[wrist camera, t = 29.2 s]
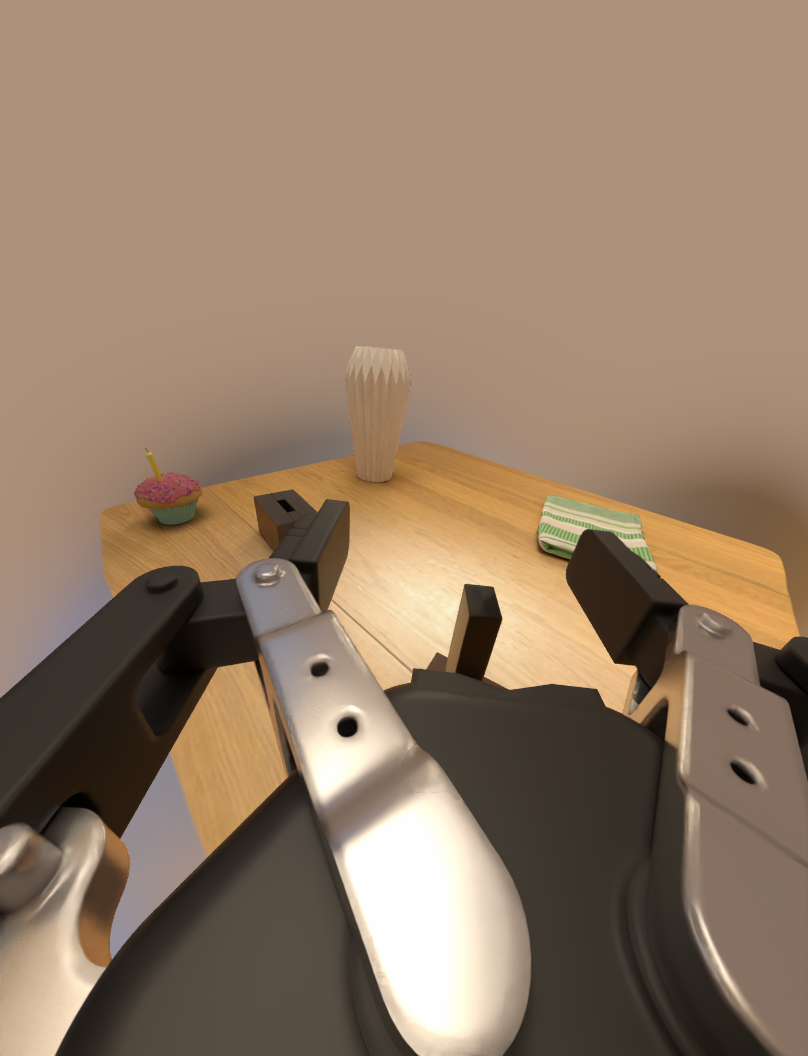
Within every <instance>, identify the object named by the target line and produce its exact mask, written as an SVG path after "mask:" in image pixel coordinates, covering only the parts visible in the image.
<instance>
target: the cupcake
mask: <svg viewBox="0 0 808 1056" xmlns="http://www.w3.org/2000/svg"><path fill="white" fill-rule="evenodd" d="M145 449H146V451H147V453H146V455H147V458H148V460H149V462H150V464H151V466H152V469H153V471H154V473H155V476H154V477H151V478H147V480H145V481H143V482H142V483H141V484H140V485H138V486H137V488H136V490H135V493H134V494H135V497H136V500H137V502H138V504H139V505H140V506H142V507H145V508H148V509H150V511H151V512H152V513H153V514H154V515H155V516H156V517H157V519H158V520H159V521H160V522H161V523H163V524H167V525H175V524H181V523H185V522H187V521H189V520H191V519H192V518H193V517H194V516H195V507H196V503H197V501H198V498H199V497H200V496H201V495H202V490H201V487H200V485H199V483H198V481H196V480H194V479H192V478H190V477H187V476H184V475H180V474H174V473H168V474H160V472H159V470H158V467H157V465H156V463H155V460H154V458H153V455H152V453H149V452H148V450H147V448H145Z"/></svg>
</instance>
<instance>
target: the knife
mask: <svg viewBox="0 0 808 1056" xmlns="http://www.w3.org/2000/svg"><path fill="white" fill-rule="evenodd" d="M501 622H502V616H501V612H500V608H499V605H498V601H497V598H496V594H495V591H494V587H490V586H480V585H471V584H465V585H464V589H463V593H462V598H461V602H460V607H459V611H458V615H457V620H456V624H455V629H454V633H453V637H452V642H451V646H450V650H449V655H448V659H447V664H446V672H451V673H459V674H462V675H464V676H467V677H470V678H473V679H476V680H479V681H482V680H483V677H484V674H485V671H486V668H487V665H488V662H489V659H490V656H491V653H492V650H493V647H494V643H495V640H496V637H497V634H498V631H499V628H500V625H501Z"/></svg>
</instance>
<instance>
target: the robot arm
mask: <svg viewBox="0 0 808 1056" xmlns="http://www.w3.org/2000/svg"><path fill="white" fill-rule="evenodd" d="M349 528H350V506H349V502H346V501H337V500H328V499H327V500H326V501H325V502H324V504H323V505H322V507H321V508H320V510H319V512H318V513H317V512H308V513H306V514H305V515H303V516H301V517H299V518H298V519H297V520H296V522H295V523H294V524H293V526H292V529H290V530H289V531H288V533H287V535H286V536H285V537H284V538H283V539H282V541H281V542H280V544H279V545H278V546H277V548H276V549H275V550H274V552H273V553H272V554H271V556H270V557H269V559H263V560H259V561H255V562H253V563H251V564H249V565H247V566H246V567H244V568H243V569H242V570H241V571H240V572H239V573H238V575H237V577H236V579H230V580H221V581H211V582H200V579H199V575H198V573H197V572H196V571H195V570H194V569H192V568H190V567H186V566H169V567H163V568H159V569H155V570H152V571H150V572H147V573H145V574H143V575H141V576H139V577H138V578H136V579H135V580H133V581H132V582H131V583H130V584H129V585H127V586H126V587H125V588H124V589H123V590H122V591H121V592H120V593H118V594H117V595H116V596H115V597H114V598H113V599H112V600H111V601H109V602H108V603H107V604H106V605H105V606H104V607H103V608H102V609H101V610H99V611H98V612H97V613H96V614H95V615H94V616H93V617H91V618H90V619H89V620H88V621H87V622H86V623H85V624H84V625H82V626H81V627H80V628H79V629H78V630H77V631H76V632H75V633H74V634H72V635H71V636H70V637H69V638H68V639H67V640H65V641H64V642H63V643H62V644H61V645H60V646H59V647H58V648H56V649H55V650H54V651H53V652H52V653H51V654H50V655H49V656H48V657H46V658H45V659H44V660H43V661H42V662H41V663H40V664H38V665H37V666H36V667H35V668H34V669H33V670H32V671H31V672H29V673H28V674H27V675H26V676H25V677H24V678H23V679H22V680H20V681H19V682H18V683H17V684H16V685H15V686H14V687H13V688H11V689H10V690H9V691H8V692H7V693H6V694H5V695H3V696H2V697H1V698H0V1056H808V638H806V637H794V638H792V639H791V640H790V641H789V642H788V643H787V644H786V645H785V646H784V647H783V648H782V649H781V650H778V649H775V648H772V647H768V646H765V645H762V644H759V643H755V642H753V641H752V638H751V637H750V635H749V634H748V633H747V632H746V631H745V630H744V629H743V628H742V627H741V626H740V625H738V624H737V623H736V622H734V621H733V620H731V619H729V618H728V617H726V616H724V615H722V614H720V613H718V612H716V611H713V610H711V609H708V608H705V607H701V606H696V605H689V604H688V603H687V602H686V601H685V600H684V599H683V598H682V597H681V596H680V595H679V594H678V593H677V592H676V591H675V590H674V589H673V588H672V587H671V586H670V585H669V584H668V583H667V582H666V581H665V580H664V579H661V578H660V577H661V576H660V575H659V574H658V573H657V572H656V571H655V570H652V567H651V566H650V565H649V564H648V563H647V562H646V561H645V560H644V559H643V558H642V557H640V556H639V555H637V554H635V553H634V552H632V551H631V550H630V549H629V548H628V547H627V546H626V545H625V544H624V543H623V542H622V541H621V540H620V539H619V538H618V537H617V536H616V535H615V534H614V533H613V532H611V531H602V530H593V529H586V530H584V531H583V532H582V534H581V536H580V538H579V540H578V543H577V545H576V547H575V549H574V552H573V554H572V556H571V559H570V561H569V563H568V566H567V569H566V580H567V583H568V585H569V587H570V588H571V590H572V592H573V594H574V595H575V597H576V599H577V600H578V602H579V604H580V606H581V607H582V609H583V611H584V612H585V614H586V616H587V617H588V619H589V621H590V623H591V624H592V626H593V628H594V629H595V631H596V633H597V634H598V636H599V638H600V640H601V641H602V643H603V645H604V646H605V648H606V650H607V652H608V653H609V655H610V657H611V658H612V660H613V662H614V663H615V664H624V665H633V666H636V667H637V670H636V672H635V673H634V674H633V676H632V678H631V681H630V685H629V689H628V693H627V697H626V701H625V705H624V709H623V713H619V712H617V711H615V710H613V709H610V708H608V707H606V706H605V704H604V702H603V700H602V698H601V696H600V694H599V692H598V690H597V689H591V688H582V687H574V686H565V685H556V684H549V685H542V686H535V687H528V688H521V689H514V690H506V689H502V688H499V687H496V686H493V685H491V684H488V683H485V682H482V681H479V680H476V679H473V678H470V677H467V676H464V675H462V674H459V673H451V672H442V671H433V670H424V669H415V668H413V673H412V679H411V683H407V684H402V685H398V686H394V687H391V688H389V689H386V690H384V691H383V690H382V688H381V686H380V685H379V683H378V682H377V680H376V678H375V677H374V675H373V674H372V672H371V670H370V669H369V667H368V666H367V664H366V662H365V661H364V659H363V658H362V656H361V654H360V653H359V651H358V650H357V648H356V646H355V645H354V643H353V642H352V640H351V638H350V637H349V635H348V634H347V632H346V630H345V629H344V627H343V626H342V624H341V622H340V621H339V619H338V618H337V616H336V615H335V613H334V612H333V611H331V610H328V607H329V605H330V602H331V599H332V597H333V594H334V591H335V588H336V586H337V583H338V580H339V578H340V575H341V572H342V570H343V567H344V564H345V561H346V559H347V555H348V550H349ZM327 610H328V611H327ZM251 661H253V662H254V665H255V668H256V671H257V675H258V678H259V681H260V685H261V688H262V691H263V694H264V698H265V701H266V704H267V708H268V711H269V714H270V717H271V721H272V724H273V728H274V732H275V736H276V740H277V744H278V747H279V751H280V754H281V758H282V761H283V765H284V768H285V771H286V775H287V779H286V780H285V781H284V782H283V783H282V784H281V785H280V786H279V787H278V788H277V789H276V790H275V791H274V792H273V793H272V794H271V795H270V796H269V797H268V798H267V799H266V800H265V801H264V802H263V803H262V804H261V805H260V806H259V807H258V808H257V809H256V810H255V811H254V812H253V813H252V814H251V815H250V816H249V817H248V818H247V819H246V820H245V821H244V822H243V823H242V824H241V825H240V826H239V827H238V828H237V829H236V830H235V831H234V832H233V833H232V834H231V835H230V836H229V837H228V838H227V839H226V840H225V841H223V842H222V843H221V844H220V845H219V846H218V847H217V848H216V849H215V850H214V851H213V852H212V853H211V854H210V855H209V856H208V857H207V858H206V859H205V860H204V861H203V862H202V863H201V864H200V865H199V866H198V867H197V868H196V869H195V870H194V871H193V873H192V874H190V875H189V876H188V877H187V878H186V879H185V880H184V881H183V882H182V883H181V884H180V885H179V886H178V887H177V888H176V889H175V890H174V892H172V893H171V894H170V895H169V896H168V898H166V899H165V900H164V901H163V902H162V903H161V904H160V905H159V906H158V907H157V908H156V909H155V910H154V911H153V912H152V913H151V914H150V915H149V916H148V917H147V918H146V919H145V921H144V922H143V923H142V924H141V925H140V926H139V927H138V928H137V929H136V931H135V932H134V933H133V934H132V935H131V937H130V938H129V939H128V940H127V941H126V942H125V944H124V945H123V946H122V947H121V949H120V950H119V951H118V953H117V954H116V955H115V957H114V958H113V959H111V953H110V933H111V926H112V922H113V918H114V915H115V911H116V909H117V906H118V904H119V901H120V899H121V896H122V894H123V891H124V889H125V886H126V883H127V879H128V875H129V868H130V857H129V854H128V850H127V848H126V846H125V844H124V843H123V842H122V841H121V840H120V838H121V836H122V835H123V833H124V831H125V829H126V828H127V826H128V824H129V822H130V821H131V819H132V817H133V815H134V814H135V812H136V810H137V808H138V807H139V805H140V803H141V801H142V799H143V798H144V796H145V794H146V792H147V791H148V789H149V787H150V785H151V784H152V782H153V780H154V778H155V777H156V775H157V773H158V771H159V770H160V768H161V766H162V764H163V763H164V761H165V759H166V757H167V756H168V754H169V752H170V750H171V749H172V747H173V745H174V743H175V742H176V740H177V738H178V736H179V734H180V733H181V731H182V729H183V727H184V726H185V724H186V722H187V720H188V719H189V717H190V715H191V713H192V712H193V710H194V708H195V706H196V705H197V703H198V701H199V699H200V698H201V696H202V694H203V692H204V691H205V689H206V687H207V685H208V684H209V682H210V680H211V678H212V677H213V675H214V673H215V671H216V669H217V668H218V667H222V666H228V665H233V664H239V663H245V662H251Z"/></svg>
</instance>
